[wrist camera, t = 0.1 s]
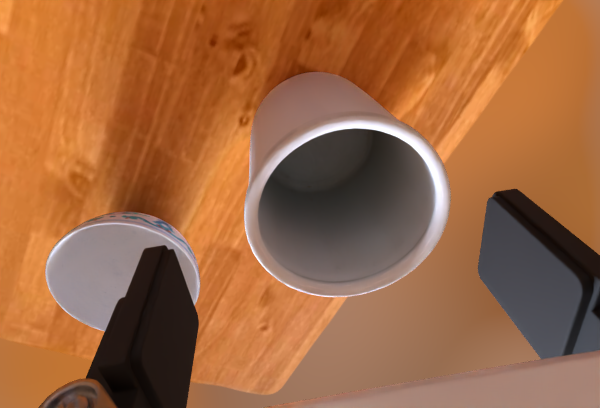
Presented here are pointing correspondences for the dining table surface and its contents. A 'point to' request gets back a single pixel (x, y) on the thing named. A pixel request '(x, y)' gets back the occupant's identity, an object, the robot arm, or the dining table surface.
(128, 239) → the chinaware
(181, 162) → the dining table surface
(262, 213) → the utensil holder
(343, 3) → the dining table surface
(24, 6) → the dining table surface
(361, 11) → the dining table surface
